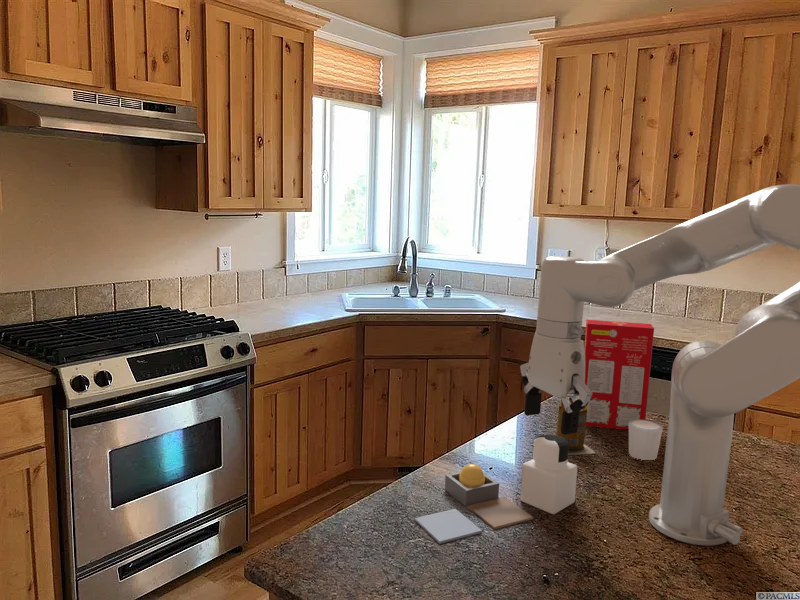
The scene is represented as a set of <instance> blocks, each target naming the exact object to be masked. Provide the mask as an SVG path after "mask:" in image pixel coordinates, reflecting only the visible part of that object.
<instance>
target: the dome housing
mask: <svg viewBox="0 0 800 600" xmlns="http://www.w3.org/2000/svg"><path fill="white" fill-rule="evenodd" d="M460 472H461V471H457V472H453V473H448V474H445V475H444V476H445V478H444V479H445V480H444V491H445V492H447V493H448V494H449V496H451V497H453V498H455V499H456V501H458V502H459V503H460V504H462V505H463V506H464V507H467V506H469V505H473V504H477V503H481V502H486V501H490V500H494V499H498V498H499V493H500V491H499V490H500V483H499V482H498V481H497V480H495V479H493V478H492V477H491V476H489V475H487V474H486V472H485V473H484V472H483V473H484V474H485V485H480V486H475V487H471V488H467V487H465V486H464V485H463V484H461V483H460V482H459V475H460Z"/></svg>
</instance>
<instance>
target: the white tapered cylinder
mask: <svg viewBox="0 0 800 600" xmlns="http://www.w3.org/2000/svg"><path fill="white" fill-rule="evenodd" d="M663 429H664V427H663V425H662V424H660V423H659V422H656V421H652V420H648V419H645V420H632V421H629V430H628V455H629V454H630V455H631V456H632V457H631V456H630V455H629V456H630V457H631V458H633V457H634V458H633V459H635V458H637V459H636V460H638V459H641V460H640V461H642V460H654V461H656V460H657V459H656V458H657V457H658V453H659V450H660V449H659V448H660V445H661V438H662V434H663ZM655 459H656V460H655Z"/></svg>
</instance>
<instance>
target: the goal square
mask: <svg viewBox="0 0 800 600" xmlns="http://www.w3.org/2000/svg"><path fill="white" fill-rule="evenodd" d="M414 521H415V522H416V523H417V524H418V525H419V527H421V528H422V529H423V530H424V531H425V532H426V533H427V534H428V535H430V536H431V537H432V538H433V540H435V541H436V542H437V543H438V544H439V545H440V544H445V543H447V542H452V541H457V540H459V539H463V538H468V537H470V536H474V535H478V534H482V533H483V532H482V531H483V530H482V529H481V528H480V527H478V526H477V525H476V524H475V523H473V522H472V521H471V520H470V519H469V518H467V516H465V515H464V514H463V513H461V512H460V511H459V510H457V509H456V508H453V509H452V508H451V509H448V510H444V511H439V512H435V513H431V514H427V515H423V516H418V517H415V518H414Z"/></svg>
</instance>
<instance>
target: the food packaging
mask: <svg viewBox="0 0 800 600" xmlns="http://www.w3.org/2000/svg"><path fill="white" fill-rule="evenodd" d="M584 333H585V334H584V349H585V384H586V385H587V386H588V388H589V389H590V390H591V391H592V396H591V398H590V400H589V401H588V405H587V406H586V407H587V418H586V427H594V426H597V427H596V428H603V427H607V428H606V429H613V428H616V429H615V430H622V429H629V421H632V420H647V419H646V417H647V407H648V398H649V396H648V394H649V387H650V386H649V385H650V376H651V367H652V366H651V364H652V355H653V345H654V333H655V327H654V326H653V324H651V323H641V322H627V321H615V320H614V321H613V320H612V321H610V320H599V319H598V320H596V319H586V323H585V332H584Z"/></svg>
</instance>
